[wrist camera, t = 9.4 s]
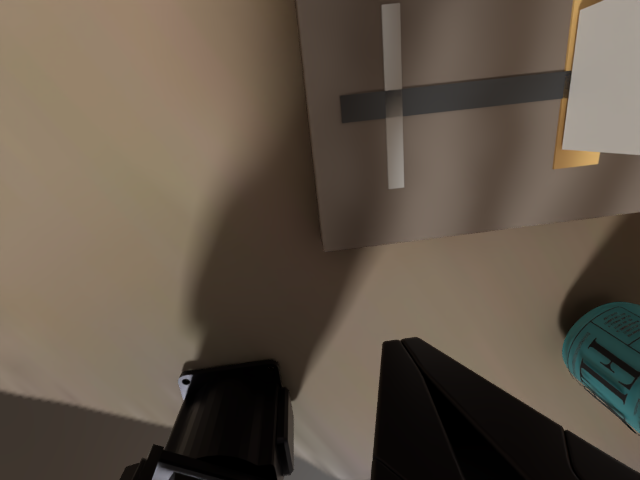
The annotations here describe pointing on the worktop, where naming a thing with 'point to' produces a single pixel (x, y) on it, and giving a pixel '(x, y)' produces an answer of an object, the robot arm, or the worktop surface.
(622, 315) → the beverage bottle
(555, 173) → the fader console
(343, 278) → the worktop surface
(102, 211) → the worktop surface
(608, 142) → the fader knob
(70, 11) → the worktop surface
